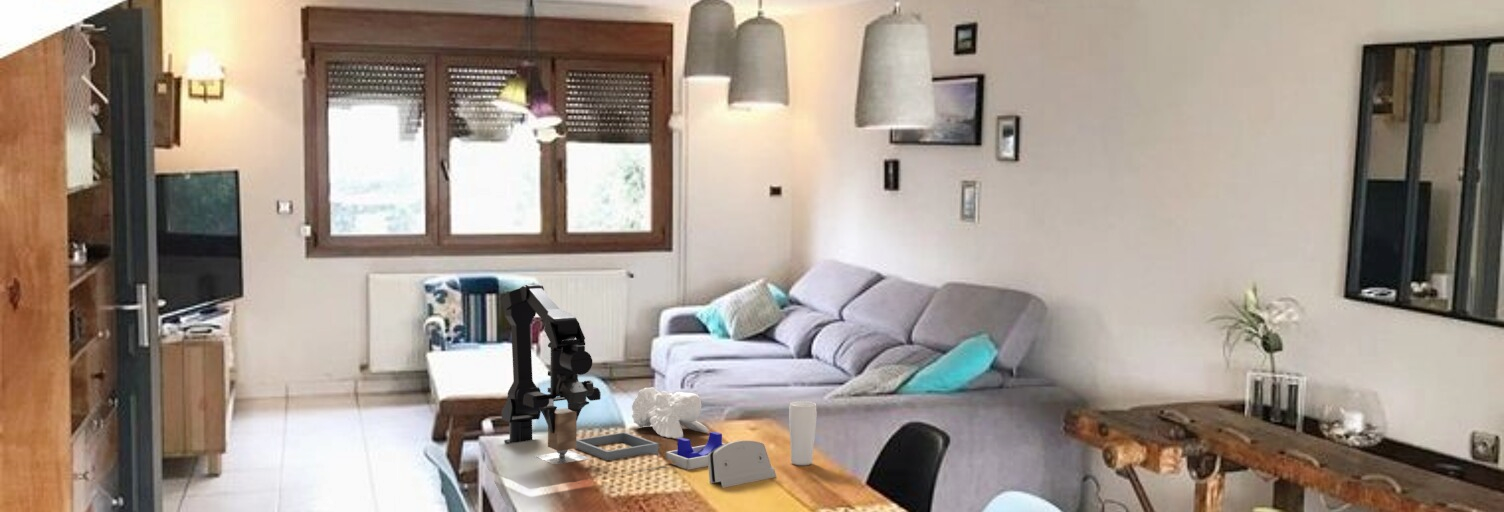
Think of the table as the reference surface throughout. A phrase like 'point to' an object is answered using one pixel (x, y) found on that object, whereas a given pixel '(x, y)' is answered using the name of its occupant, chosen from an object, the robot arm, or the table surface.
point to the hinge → (739, 463)
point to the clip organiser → (686, 462)
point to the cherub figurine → (667, 412)
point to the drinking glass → (802, 431)
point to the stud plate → (561, 457)
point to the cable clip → (711, 445)
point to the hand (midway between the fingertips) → (562, 431)
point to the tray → (636, 448)
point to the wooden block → (563, 430)
